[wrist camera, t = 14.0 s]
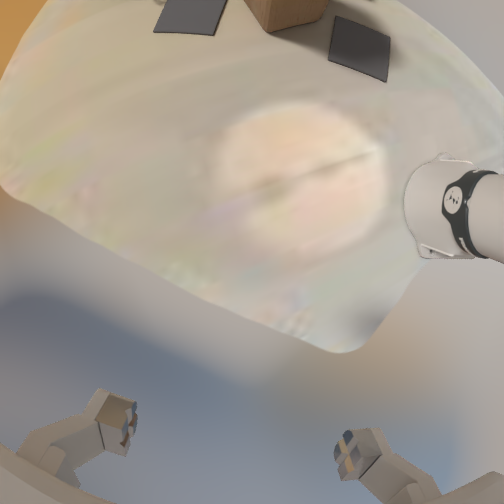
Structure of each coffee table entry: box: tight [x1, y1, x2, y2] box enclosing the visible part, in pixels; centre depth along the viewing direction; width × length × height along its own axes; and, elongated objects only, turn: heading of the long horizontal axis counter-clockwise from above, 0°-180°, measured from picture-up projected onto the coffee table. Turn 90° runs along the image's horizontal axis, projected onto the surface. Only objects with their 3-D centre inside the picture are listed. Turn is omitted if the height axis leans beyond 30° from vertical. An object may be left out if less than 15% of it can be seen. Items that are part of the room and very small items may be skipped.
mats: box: [153, 0, 390, 82], centre depth 32 cm, size 38×10×1 cm, turn 77°
